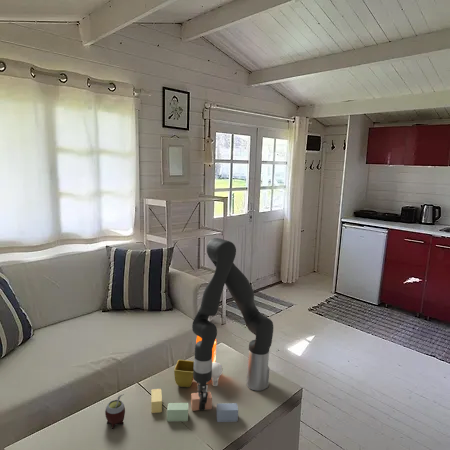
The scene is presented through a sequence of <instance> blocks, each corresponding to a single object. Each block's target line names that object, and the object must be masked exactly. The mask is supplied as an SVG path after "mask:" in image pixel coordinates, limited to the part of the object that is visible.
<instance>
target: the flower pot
mask: <svg viewBox="0 0 450 450" xmlns="http://www.w3.org/2000/svg"><path fill="white" fill-rule="evenodd" d="M193 367H194V360H186V359H178V360H177V362H176V364H175V366H174V368H173V372H174V373H173V374H174V382H175V383H176V385H177V386H178V387H180V388H181V387H182V388H183V387H184V388H190V387H191V386H192V383H193V380H194V379H193Z"/></svg>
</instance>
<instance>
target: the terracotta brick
mask: <svg viewBox="0 0 450 450" xmlns="http://www.w3.org/2000/svg"><path fill="white" fill-rule="evenodd" d="M207 393H208V396H207V403H205V410H212V409H213V407H212V406H213V396H212V393H211V391H207ZM200 394H201V393H200ZM199 403H200V402H199V396H198V393H197V392H192V393H191V394H190V407H191V411H193V412H194V411H200V410H199Z"/></svg>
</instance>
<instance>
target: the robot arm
mask: <svg viewBox="0 0 450 450" xmlns="http://www.w3.org/2000/svg"><path fill="white" fill-rule="evenodd" d="M206 254H207V256H208V258H209V260H210V261H211V262H212V264H213V265H214V266H215V270H214V273H213V276H212V277H211V279H210V281H209V282H208V284H207V286H206V287H205V288H204V291H203V294H202V297H201V303H200V307H199V309H198V311H197V313H196V315H195V317H194V319H193V321H192V324H191V325H192V326H191V329H192V332H193V334H194V335H196V337H197V336H199V337H201V338H202V341H199V342H197V343H195V346H194V356H193V357H194V359H193V361H194V367H193V380H194V381H195V382H196V390H197V392H196V393H198V396H199V402H200V403H199V410H198V411H204V410H206V409H205V403H207V396H208V393H207V392H208V388H209V387H208V385H209V384H208V383H209V382H210V381H212V379H211V378H212V348H213V345H214V342H215V339H216V340H217V336H218V329H217V326H216V324H215V323H213V322H212V321H210V320H209V317H214V316H216V315H217V313H218V311H219V306H220V302H221V298H222V294H223V290H224V287H225V285H226V288H227V289H228V292H229V294H230V296H231V297H232V299H233V301H234V303H235V304H236V306H237V308H238V309H239V310H240V313H241V315H242V317H243V319H244V323H245V326H246V327H247V329H248V331H249V332H250V333H252V334H253V335H255V338H254V339H252V340H250V341H249V344H248V353H247V355H248V356H247V368H246V370H247V371H246V386H247V387H248V388H249V389H250V390H253V391H258V392H259V391H260V392H261V391H264V390H265V389H267V388H269V380H270V367H269V361H270V360H269V359H270V358H269V357H270V350H271V349H270V348H271V346H272V343H273V336H274V322H273V321H272V319H270V318H269V317H267V316H265V315H264V314H262V313H261V312H260V311H259V309H258V308H257V306H256V304H255V292H254V290H253V287H252V286H251V283H250V281H249V279H248V278H247V277H246V275H245V274H244V273H243V272H242V270H240V268H238V266H237V265H236V264H235V260H236V259H235V258H236V255H237V248H236V245H235V243H234V242H232V241H230V240H226V239H223V238H218V237H217V238H216V237H215V238H211V239H210V240H209V241H208V242H207V245H206ZM200 393H201V394H200Z"/></svg>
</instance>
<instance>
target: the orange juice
mask: <svg viewBox="0 0 450 450" xmlns="http://www.w3.org/2000/svg"><path fill="white" fill-rule="evenodd" d="M199 341H202V338H201V337H199V336H197V335H196V340H195V342H196V343H197V342H199ZM196 343H195V344H196ZM216 356H217V338H216V339H215V342H214V345H213V348H212V363H213V362H217V361H216V360H217V357H216ZM211 380H212V378H211Z"/></svg>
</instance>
